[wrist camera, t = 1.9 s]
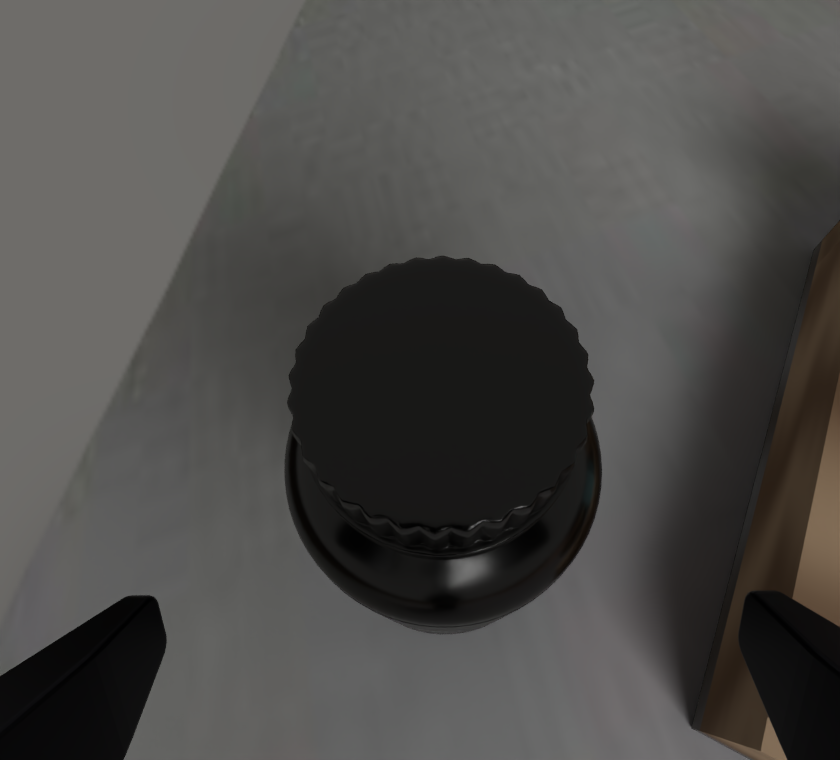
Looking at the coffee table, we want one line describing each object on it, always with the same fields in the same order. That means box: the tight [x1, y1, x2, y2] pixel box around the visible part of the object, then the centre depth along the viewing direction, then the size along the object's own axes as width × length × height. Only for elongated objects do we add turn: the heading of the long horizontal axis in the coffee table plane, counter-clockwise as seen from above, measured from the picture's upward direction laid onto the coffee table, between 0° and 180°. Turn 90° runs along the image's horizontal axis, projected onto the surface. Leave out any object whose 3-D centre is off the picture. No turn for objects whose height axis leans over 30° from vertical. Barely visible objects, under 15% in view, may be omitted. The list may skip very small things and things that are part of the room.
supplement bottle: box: [285, 256, 602, 634], centre depth 14 cm, size 7×7×12 cm
